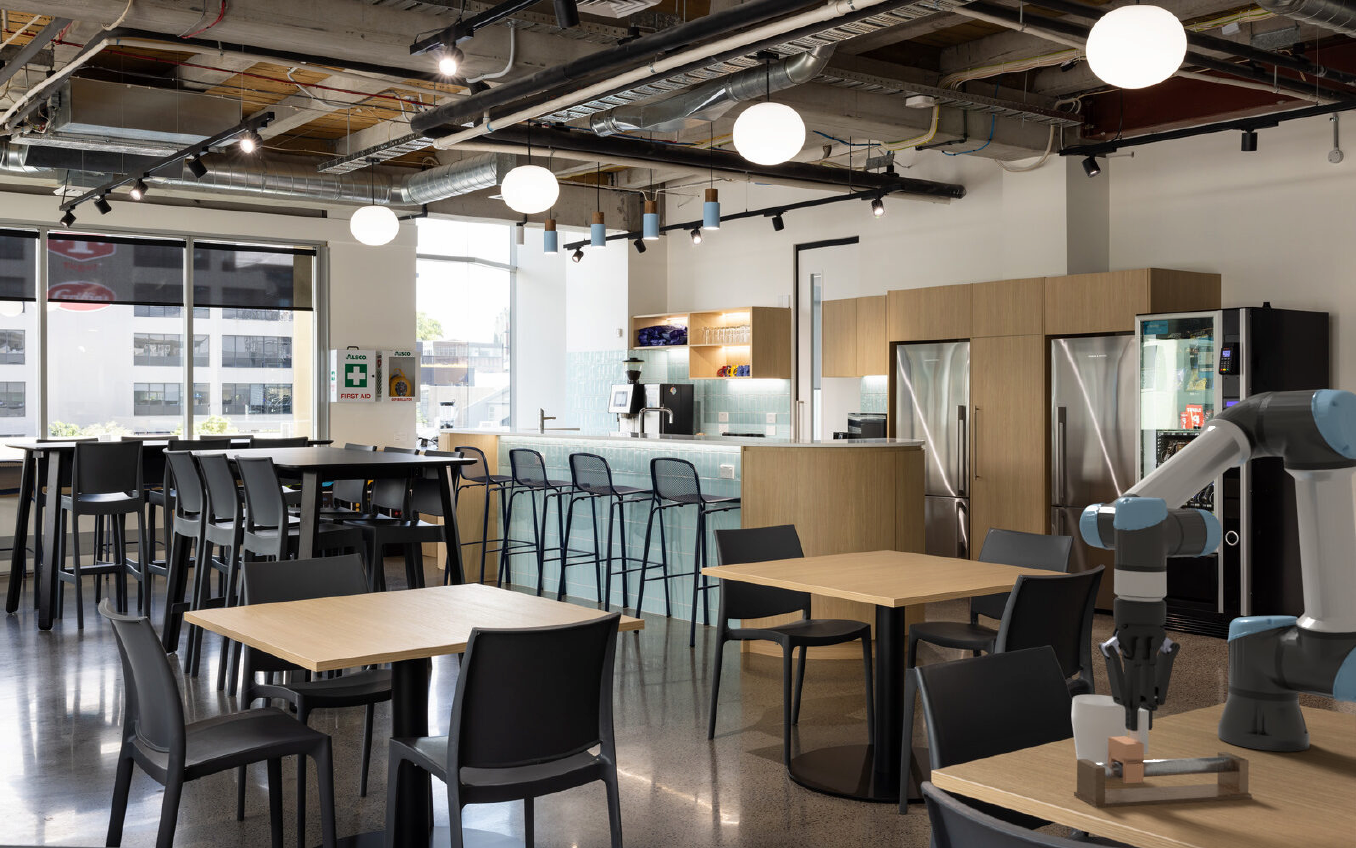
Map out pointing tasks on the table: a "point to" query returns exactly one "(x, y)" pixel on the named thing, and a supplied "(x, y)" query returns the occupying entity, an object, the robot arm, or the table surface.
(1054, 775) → the table surface
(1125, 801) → the wooden rod stand
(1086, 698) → the cup
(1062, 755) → the table surface
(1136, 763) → the tan block
